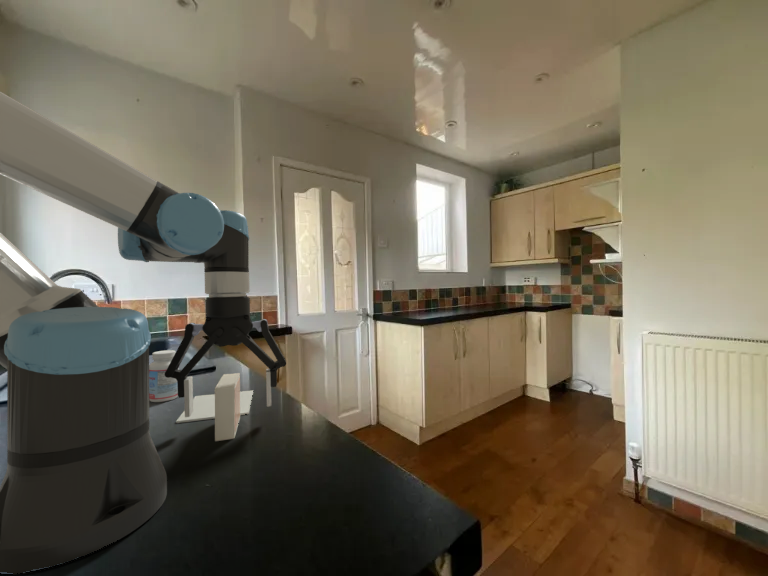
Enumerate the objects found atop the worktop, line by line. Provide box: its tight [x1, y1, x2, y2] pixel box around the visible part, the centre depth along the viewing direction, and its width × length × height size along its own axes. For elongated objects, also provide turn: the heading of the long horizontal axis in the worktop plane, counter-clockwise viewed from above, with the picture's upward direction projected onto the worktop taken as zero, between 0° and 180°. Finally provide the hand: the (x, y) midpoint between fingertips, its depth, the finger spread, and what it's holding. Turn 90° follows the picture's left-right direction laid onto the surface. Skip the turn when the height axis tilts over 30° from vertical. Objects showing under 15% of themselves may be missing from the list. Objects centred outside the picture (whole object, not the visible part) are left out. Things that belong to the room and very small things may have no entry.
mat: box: [175, 389, 254, 424], centre depth 72 cm, size 16×13×1 cm
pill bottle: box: [149, 349, 180, 403], centre depth 77 cm, size 6×6×11 cm
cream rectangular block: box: [214, 372, 241, 442], centre depth 60 cm, size 10×3×9 cm, turn 19°
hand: (230, 409), depth 60 cm, fingers open, 13 cm apart
